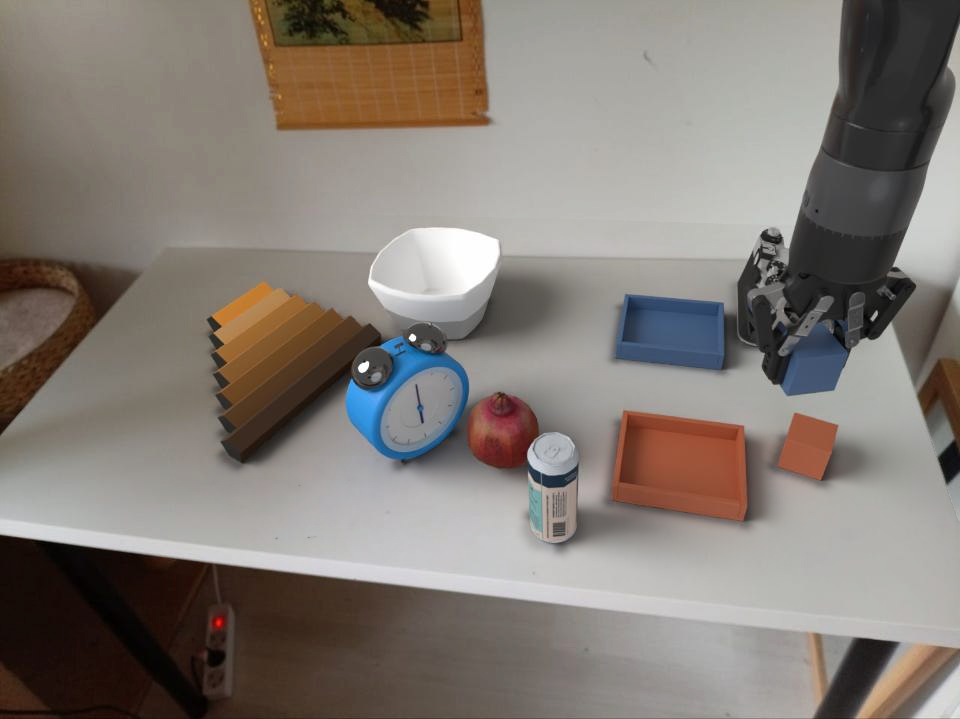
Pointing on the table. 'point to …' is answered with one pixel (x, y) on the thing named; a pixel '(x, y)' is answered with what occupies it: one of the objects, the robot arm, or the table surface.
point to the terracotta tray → (681, 465)
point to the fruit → (502, 431)
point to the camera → (761, 274)
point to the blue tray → (672, 331)
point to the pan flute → (277, 361)
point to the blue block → (814, 363)
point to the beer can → (553, 487)
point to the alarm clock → (407, 392)
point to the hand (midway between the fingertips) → (800, 374)
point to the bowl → (437, 278)
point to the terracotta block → (808, 446)
